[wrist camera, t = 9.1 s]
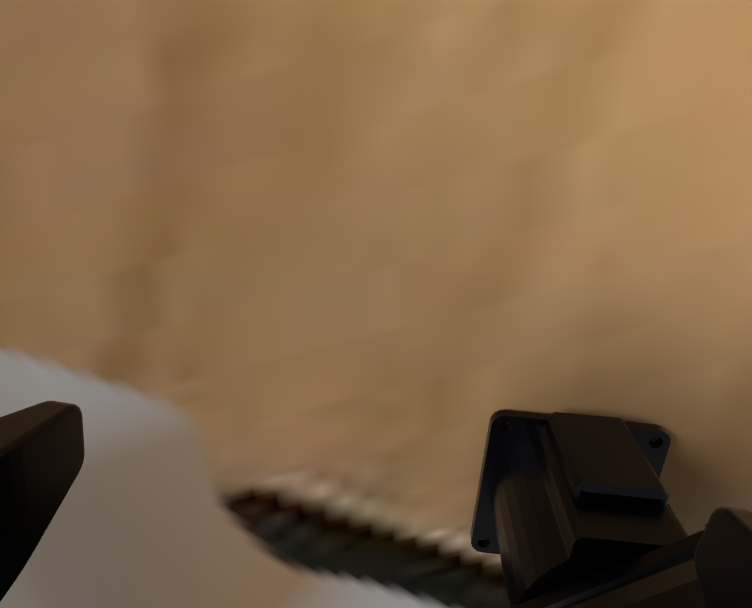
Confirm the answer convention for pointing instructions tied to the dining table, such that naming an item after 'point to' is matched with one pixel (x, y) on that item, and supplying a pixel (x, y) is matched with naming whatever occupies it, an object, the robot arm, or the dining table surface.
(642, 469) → the robot arm
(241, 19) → the dining table surface
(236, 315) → the dining table surface
